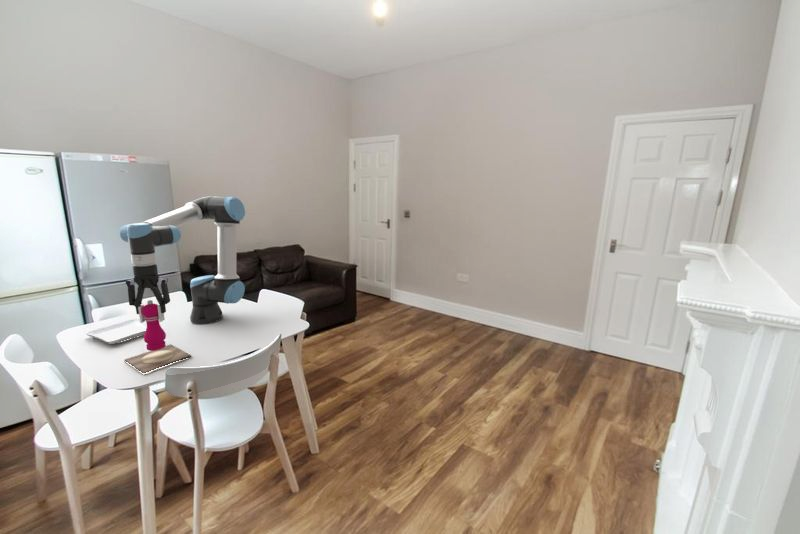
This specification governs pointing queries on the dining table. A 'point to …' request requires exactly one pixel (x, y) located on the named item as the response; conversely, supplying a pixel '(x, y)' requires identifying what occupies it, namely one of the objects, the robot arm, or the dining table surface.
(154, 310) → the pepper mill
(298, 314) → the dining table surface
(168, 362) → the walnut stand
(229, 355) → the dining table surface
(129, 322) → the salad plate
